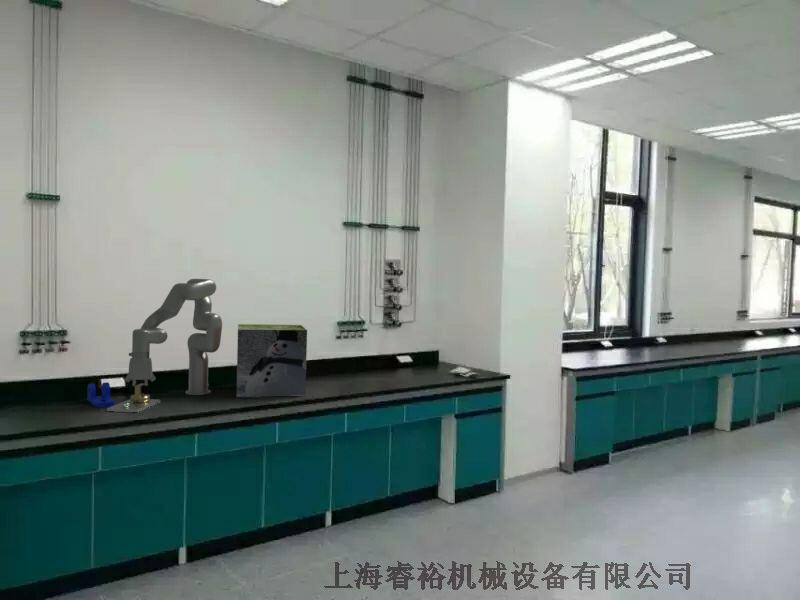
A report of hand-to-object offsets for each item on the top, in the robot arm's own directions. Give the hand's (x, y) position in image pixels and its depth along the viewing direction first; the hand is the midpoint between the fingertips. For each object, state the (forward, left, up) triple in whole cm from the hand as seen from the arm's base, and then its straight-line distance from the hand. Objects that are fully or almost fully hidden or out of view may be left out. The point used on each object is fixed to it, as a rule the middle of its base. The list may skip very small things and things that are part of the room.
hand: (140, 393), depth 279 cm
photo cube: (-47, +49, -6) cm, 68 cm away
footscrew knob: (+1, 0, -3) cm, 4 cm away
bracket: (+1, -18, -6) cm, 19 cm away
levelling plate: (+5, 0, -5) cm, 7 cm away
